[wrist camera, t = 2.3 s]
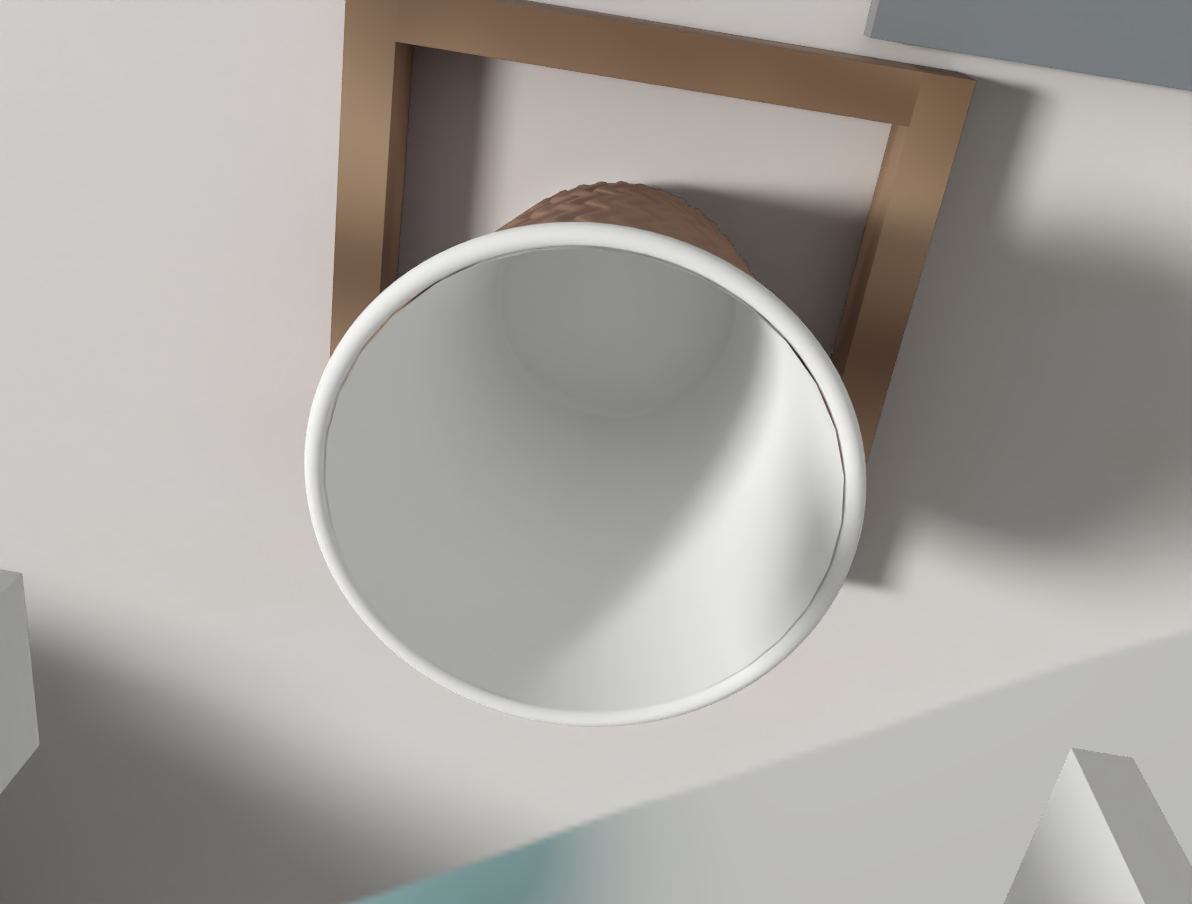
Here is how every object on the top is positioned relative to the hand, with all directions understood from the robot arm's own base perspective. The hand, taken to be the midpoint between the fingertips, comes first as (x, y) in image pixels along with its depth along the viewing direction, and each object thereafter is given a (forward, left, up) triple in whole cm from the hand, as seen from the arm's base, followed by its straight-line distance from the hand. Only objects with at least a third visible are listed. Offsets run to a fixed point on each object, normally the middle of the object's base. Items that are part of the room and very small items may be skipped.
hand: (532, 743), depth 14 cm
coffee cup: (0, 0, -19) cm, 19 cm away
